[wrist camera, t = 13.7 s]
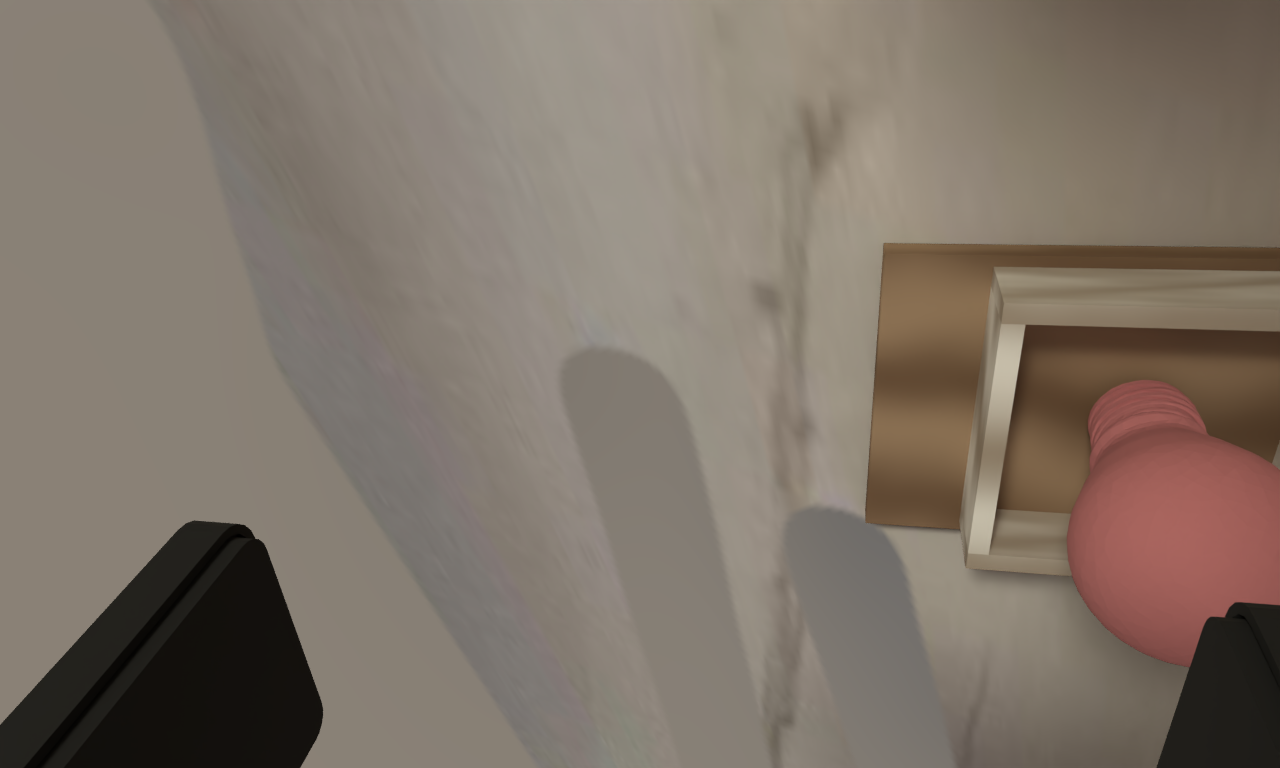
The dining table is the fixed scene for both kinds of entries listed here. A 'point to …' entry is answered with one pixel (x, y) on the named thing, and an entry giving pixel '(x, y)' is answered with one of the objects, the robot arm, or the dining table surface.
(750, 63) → the dining table surface
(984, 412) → the bulb holder
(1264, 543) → the light bulb
